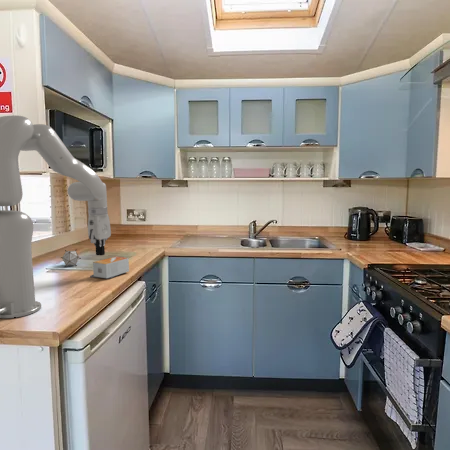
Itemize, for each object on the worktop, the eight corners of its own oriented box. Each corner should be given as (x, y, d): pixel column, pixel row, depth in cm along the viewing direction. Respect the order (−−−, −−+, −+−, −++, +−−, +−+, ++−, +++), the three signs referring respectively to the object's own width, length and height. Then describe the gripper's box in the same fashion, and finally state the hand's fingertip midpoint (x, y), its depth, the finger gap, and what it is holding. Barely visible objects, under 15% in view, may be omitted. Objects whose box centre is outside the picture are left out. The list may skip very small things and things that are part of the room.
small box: (92, 261, 141) (115, 256, 153) (93, 276, 142) (116, 269, 154) (106, 263, 138) (128, 257, 149) (107, 278, 138) (129, 271, 150)
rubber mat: (111, 278, 141) (111, 277, 141) (90, 277, 143) (90, 275, 143) (124, 271, 152) (124, 270, 152) (104, 270, 154) (104, 269, 154)
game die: (67, 273, 164) (56, 257, 165) (83, 264, 170) (72, 248, 170) (69, 267, 157) (57, 250, 158) (85, 258, 162) (74, 242, 163)
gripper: (95, 213, 131) (97, 259, 134) (115, 210, 146) (117, 251, 148) (78, 213, 133) (81, 258, 135) (100, 210, 148) (102, 251, 150)
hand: (100, 254), depth 142 cm, fingers closed
